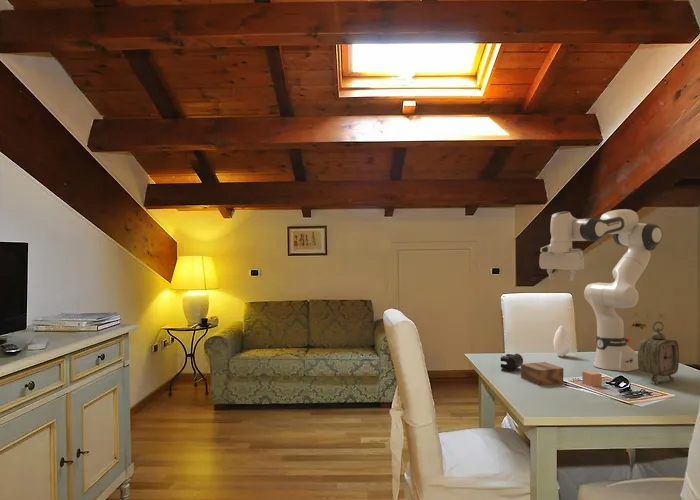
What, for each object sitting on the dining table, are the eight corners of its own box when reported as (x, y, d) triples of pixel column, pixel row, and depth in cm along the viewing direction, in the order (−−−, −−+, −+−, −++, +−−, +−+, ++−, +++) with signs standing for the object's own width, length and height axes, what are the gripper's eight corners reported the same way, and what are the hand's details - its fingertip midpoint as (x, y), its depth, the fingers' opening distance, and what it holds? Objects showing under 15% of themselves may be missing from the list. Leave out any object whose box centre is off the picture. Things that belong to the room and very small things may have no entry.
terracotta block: (592, 382, 212) (592, 370, 212) (601, 386, 207) (601, 373, 207) (582, 383, 210) (582, 371, 210) (591, 387, 206) (591, 374, 206)
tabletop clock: (657, 386, 205) (657, 324, 205) (636, 381, 213) (635, 321, 213) (679, 381, 212) (678, 321, 212) (657, 376, 220) (657, 318, 220)
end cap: (515, 373, 229) (515, 358, 229) (500, 370, 233) (500, 355, 233) (523, 368, 237) (523, 354, 237) (508, 366, 241) (508, 352, 241)
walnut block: (544, 375, 223) (544, 361, 223) (563, 382, 212) (563, 368, 212) (520, 377, 220) (520, 363, 220) (538, 385, 209) (538, 370, 208)
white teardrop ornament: (572, 358, 258) (572, 322, 257) (557, 358, 258) (556, 322, 257) (566, 354, 265) (566, 320, 265) (551, 354, 265) (550, 320, 265)
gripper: (587, 248, 218) (587, 280, 218) (545, 248, 235) (546, 278, 235) (578, 248, 214) (578, 281, 214) (537, 248, 231) (537, 279, 232)
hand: (561, 279), depth 225 cm, fingers open, 8 cm apart
